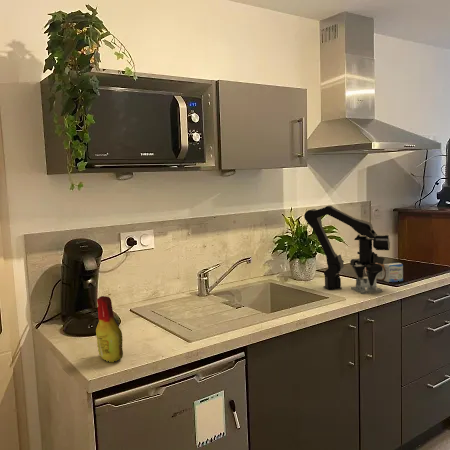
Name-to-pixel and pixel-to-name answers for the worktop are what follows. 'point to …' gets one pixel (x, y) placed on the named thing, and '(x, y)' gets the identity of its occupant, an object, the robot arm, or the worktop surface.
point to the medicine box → (394, 272)
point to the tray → (367, 290)
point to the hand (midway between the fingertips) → (366, 283)
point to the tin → (381, 274)
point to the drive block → (364, 283)
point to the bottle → (108, 332)
